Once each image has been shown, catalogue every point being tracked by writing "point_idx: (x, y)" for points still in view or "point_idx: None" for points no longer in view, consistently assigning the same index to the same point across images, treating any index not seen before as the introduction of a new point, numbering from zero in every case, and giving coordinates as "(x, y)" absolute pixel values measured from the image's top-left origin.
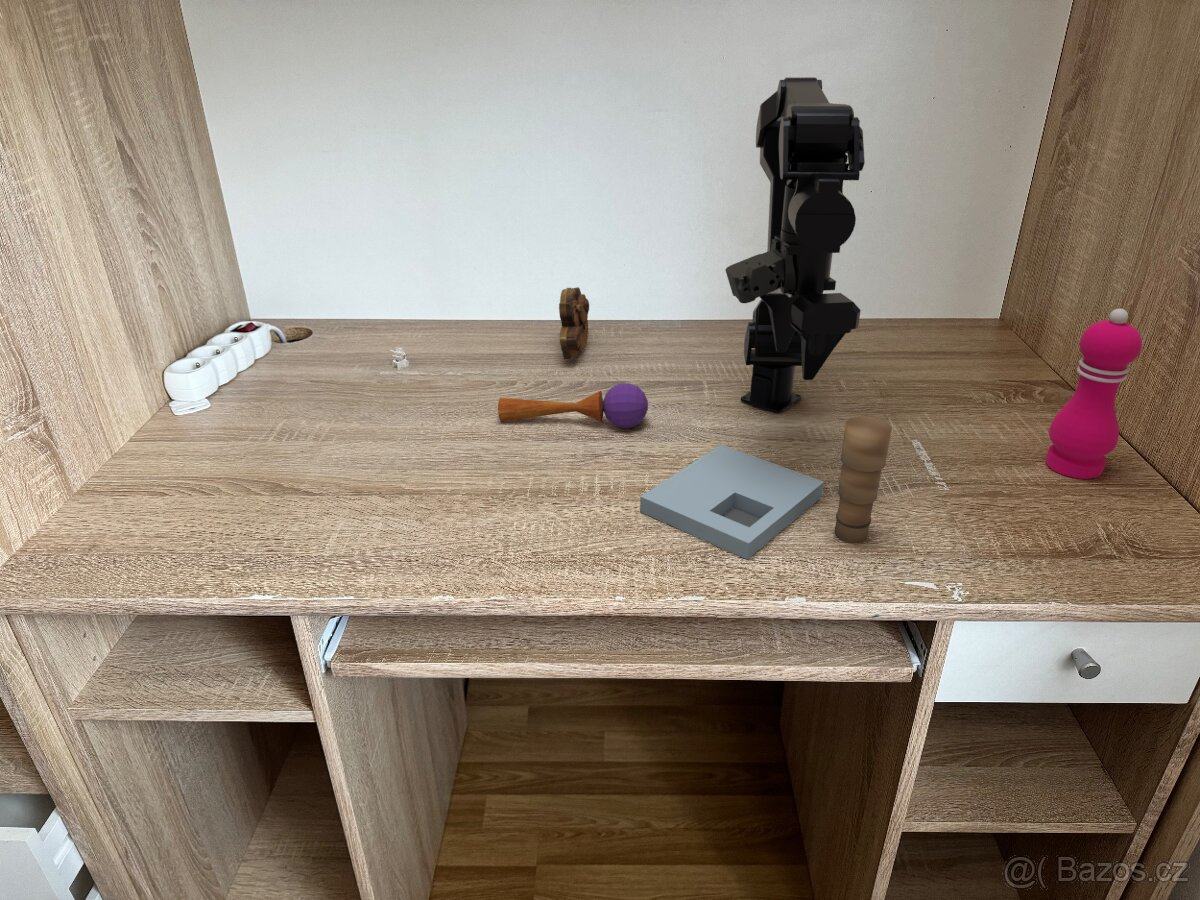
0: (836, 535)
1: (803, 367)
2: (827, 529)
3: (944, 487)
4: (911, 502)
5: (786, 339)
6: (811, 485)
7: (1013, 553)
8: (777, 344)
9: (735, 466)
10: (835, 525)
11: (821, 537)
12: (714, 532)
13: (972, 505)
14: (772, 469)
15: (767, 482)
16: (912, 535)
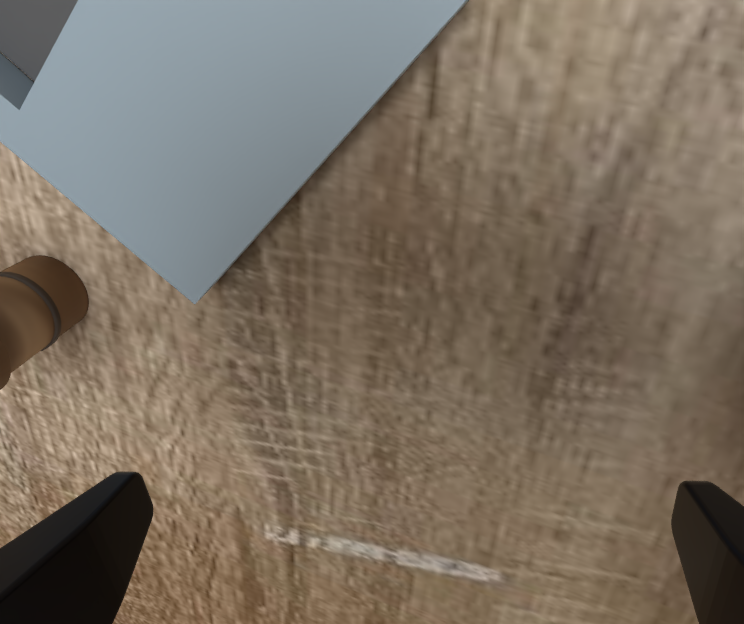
0: (33, 257)
1: (41, 529)
2: (63, 246)
3: (275, 535)
4: (209, 458)
5: (712, 619)
6: (169, 263)
7: None
8: (707, 526)
9: (278, 27)
10: (36, 265)
11: (24, 220)
12: None
13: (208, 546)
14: (260, 169)
15: (171, 128)
16: (78, 408)
